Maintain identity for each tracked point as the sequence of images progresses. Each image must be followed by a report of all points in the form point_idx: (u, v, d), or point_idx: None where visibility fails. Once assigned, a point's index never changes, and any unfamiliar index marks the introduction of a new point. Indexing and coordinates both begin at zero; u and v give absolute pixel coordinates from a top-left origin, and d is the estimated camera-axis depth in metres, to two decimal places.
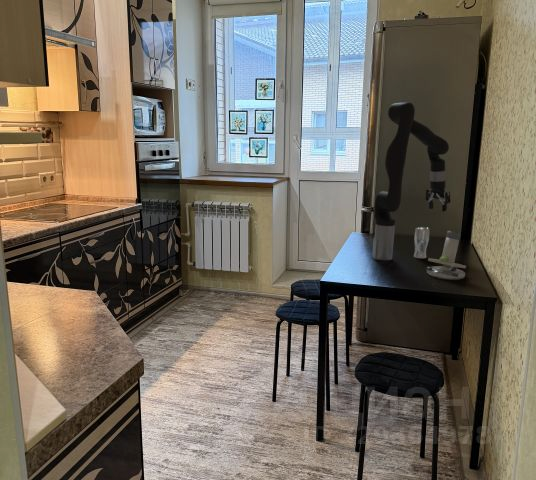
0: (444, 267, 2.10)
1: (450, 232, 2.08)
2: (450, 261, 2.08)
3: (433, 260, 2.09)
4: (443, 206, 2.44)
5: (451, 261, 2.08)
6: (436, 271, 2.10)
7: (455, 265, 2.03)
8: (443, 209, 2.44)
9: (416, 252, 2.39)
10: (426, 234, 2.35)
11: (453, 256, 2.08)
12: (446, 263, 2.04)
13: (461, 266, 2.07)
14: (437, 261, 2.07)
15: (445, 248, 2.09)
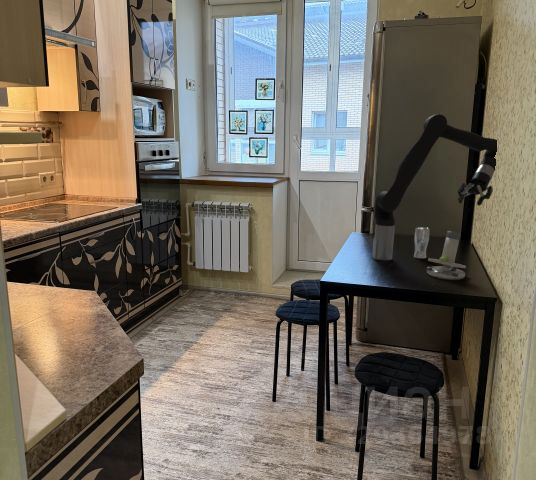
0: (444, 267, 2.10)
1: (450, 232, 2.08)
2: (450, 261, 2.08)
3: (433, 260, 2.09)
4: (480, 198, 2.11)
5: (451, 261, 2.08)
6: (436, 271, 2.10)
7: (455, 265, 2.03)
8: (479, 201, 2.11)
9: (416, 252, 2.39)
10: (426, 234, 2.35)
11: (453, 256, 2.08)
12: (446, 263, 2.04)
13: (461, 266, 2.07)
14: (437, 261, 2.07)
15: (445, 248, 2.09)
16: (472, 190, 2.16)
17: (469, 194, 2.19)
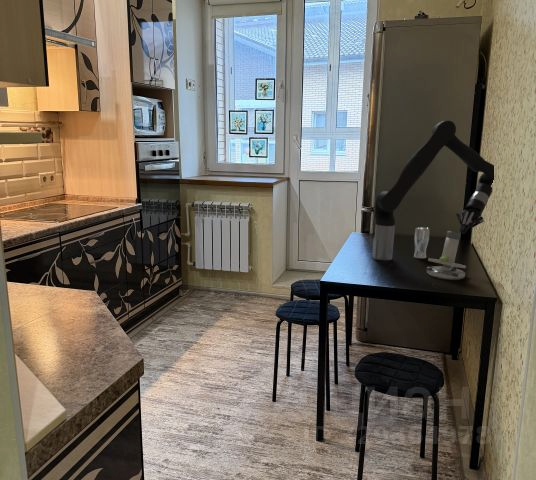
0: (444, 267, 2.10)
1: (450, 232, 2.08)
2: (450, 261, 2.08)
3: (433, 260, 2.09)
4: (465, 226, 2.15)
5: (451, 261, 2.08)
6: (436, 271, 2.10)
7: (455, 265, 2.03)
8: (464, 229, 2.14)
9: (416, 252, 2.39)
10: (426, 234, 2.35)
11: (453, 256, 2.08)
12: (446, 263, 2.04)
13: (461, 266, 2.07)
14: (437, 261, 2.07)
15: (445, 248, 2.09)
16: None
17: None
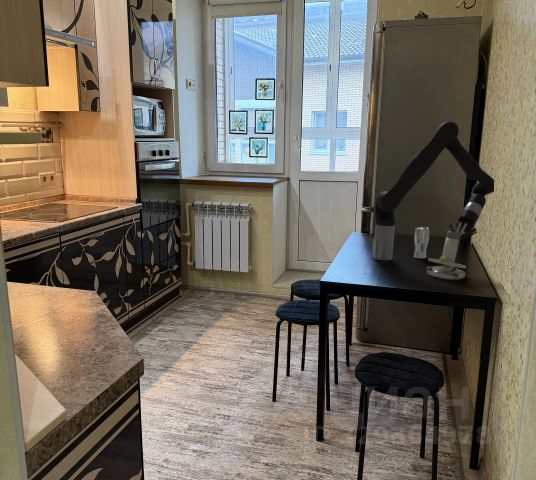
0: (444, 267, 2.10)
1: (450, 232, 2.08)
2: (450, 261, 2.08)
3: (433, 260, 2.09)
4: None
5: (451, 261, 2.08)
6: (436, 271, 2.10)
7: (455, 265, 2.03)
8: None
9: (416, 252, 2.39)
10: (426, 234, 2.35)
11: (453, 256, 2.08)
12: (446, 263, 2.04)
13: (461, 266, 2.07)
14: (437, 261, 2.07)
15: (445, 248, 2.09)
16: None
17: None
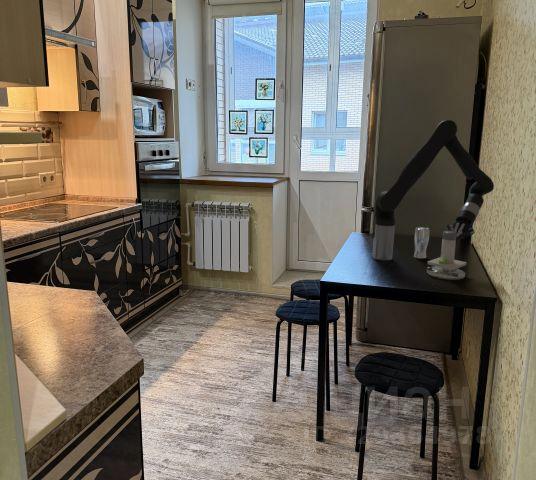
0: None
1: (446, 234, 2.05)
2: (449, 262, 2.07)
3: (432, 264, 2.09)
4: None
5: (450, 262, 2.07)
6: (436, 271, 2.10)
7: (454, 268, 2.03)
8: None
9: (416, 252, 2.39)
10: (426, 234, 2.35)
11: (452, 257, 2.07)
12: (445, 267, 2.04)
13: (461, 265, 2.07)
14: (436, 265, 2.07)
15: (443, 250, 2.08)
16: None
17: None
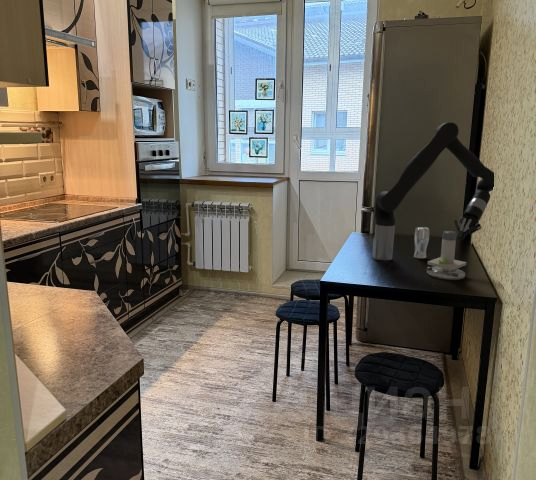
0: None
1: (445, 234, 2.05)
2: (449, 262, 2.07)
3: (432, 264, 2.09)
4: (463, 233, 2.14)
5: (450, 262, 2.07)
6: (436, 271, 2.10)
7: (454, 268, 2.03)
8: (461, 236, 2.14)
9: (416, 252, 2.39)
10: (426, 234, 2.35)
11: (452, 257, 2.07)
12: (445, 267, 2.04)
13: (461, 265, 2.07)
14: (436, 265, 2.07)
15: (443, 250, 2.08)
16: None
17: None
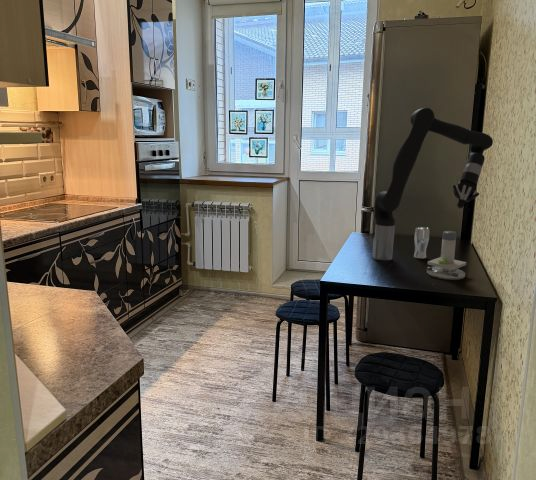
0: None
1: (445, 234, 2.05)
2: (449, 262, 2.07)
3: (432, 264, 2.09)
4: (463, 202, 2.21)
5: (450, 262, 2.07)
6: (436, 271, 2.10)
7: (454, 268, 2.03)
8: (462, 205, 2.21)
9: (416, 252, 2.39)
10: (426, 234, 2.35)
11: (452, 257, 2.07)
12: (445, 267, 2.04)
13: (461, 265, 2.07)
14: (436, 265, 2.07)
15: (443, 250, 2.08)
16: None
17: None
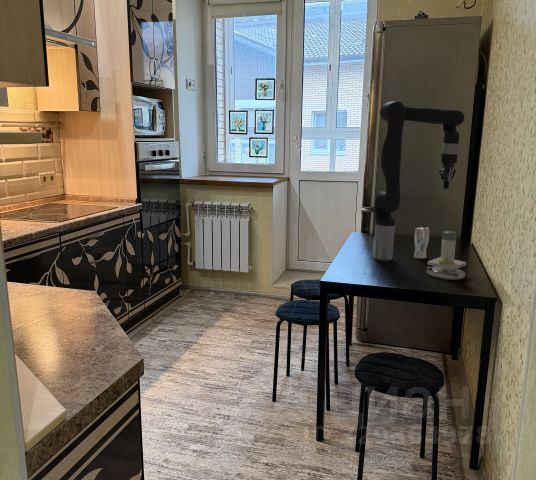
0: None
1: (445, 234, 2.05)
2: (449, 262, 2.07)
3: (432, 264, 2.09)
4: None
5: (450, 262, 2.07)
6: (436, 271, 2.10)
7: (454, 268, 2.03)
8: (448, 186, 2.33)
9: (416, 252, 2.39)
10: (426, 234, 2.35)
11: (452, 257, 2.07)
12: (445, 267, 2.04)
13: (461, 265, 2.07)
14: (436, 265, 2.07)
15: (443, 250, 2.08)
16: None
17: None
